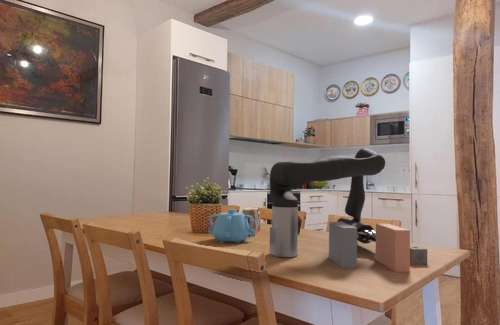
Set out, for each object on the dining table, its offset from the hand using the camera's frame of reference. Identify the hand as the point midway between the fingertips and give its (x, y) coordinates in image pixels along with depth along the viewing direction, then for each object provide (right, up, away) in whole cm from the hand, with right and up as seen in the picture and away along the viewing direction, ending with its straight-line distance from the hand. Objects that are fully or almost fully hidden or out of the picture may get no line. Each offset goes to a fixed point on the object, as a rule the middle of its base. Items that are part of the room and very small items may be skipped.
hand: (379, 240), depth 130 cm
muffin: (-26, -7, +48) cm, 55 cm away
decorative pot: (-54, -6, +27) cm, 61 cm away
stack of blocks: (-45, -7, +51) cm, 69 cm away
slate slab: (-15, -6, -9) cm, 19 cm away
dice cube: (+10, -6, -7) cm, 13 cm away
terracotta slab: (0, -6, -12) cm, 13 cm away
